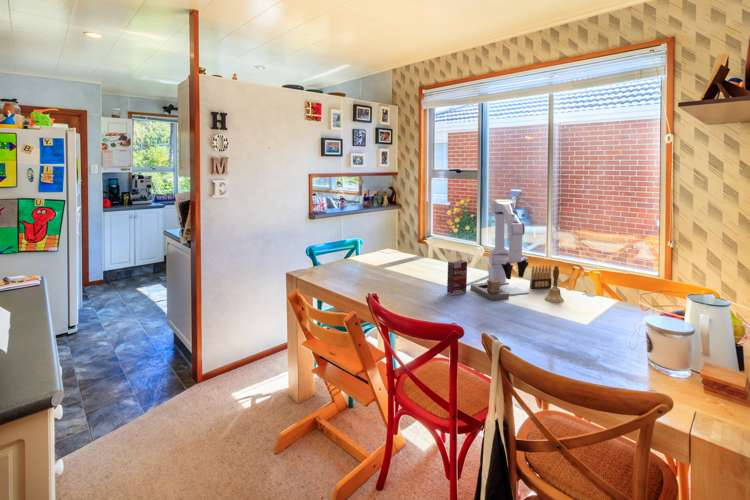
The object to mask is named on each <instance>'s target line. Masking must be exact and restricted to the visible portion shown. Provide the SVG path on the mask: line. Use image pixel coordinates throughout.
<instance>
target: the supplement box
mask: <svg viewBox="0 0 750 500" xmlns="http://www.w3.org/2000/svg"><path fill="white" fill-rule="evenodd" d="M467 275H468V261H466V260H463V259H461V260H454V261H447V282H446V283H447V285H446V288H447V289H446V292H447V294H448V295H451V296H455V295H461V294H466V293H467V281H468V280H467V279H468V278H467V277H468V276H467Z"/></svg>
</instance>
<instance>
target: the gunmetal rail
mask: <svg viewBox="0 0 750 500" xmlns="http://www.w3.org/2000/svg"><path fill="white" fill-rule="evenodd" d="M487 288H488V282H482V283H472V284H470V290H471V291H473V292H474V293H477V294H479V295H481V296H482V297H484V298H486V299H487V300H490V301H492V302H493V301H501V300H509V298H510V297H509V296H510V295H509V293H507V292H505V291H503V290H501V289H502V288H499V292H496V293H490V292H488V291H487Z"/></svg>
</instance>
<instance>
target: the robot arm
mask: <svg viewBox="0 0 750 500" xmlns="http://www.w3.org/2000/svg"><path fill="white" fill-rule="evenodd" d="M490 205H491V208H490V209H491V216H492V217H494V247H493V248H492V249H490V251H489V255H488V263H489V267H488V272H487V273H488V274H487V275H488V276H487V277H488V278H487V279H486V281H487V282H488V280H497V281H499V282H500V285H507V284H510V282H509V281H506V280H511V278H512V272H513V271H512V270H513V267H514V265H513V264H515V263H516V265H517V272H518V273H517V274H518V278H523V277H524V275H525V271H526V269H527V267H528V266H529V257H528V256H522V255H523V236H524V234H525V231H526V229H525V224H524V222H521V221H520V219H519V218H518V216H517V214H516V213H514V212H513V211H514V201H513V199H493V200H492V201H491V204H490ZM505 225H506V226H507V234H508V235H507V238H508V249H506V248H505V230H506V229H505V228H506V227H505Z"/></svg>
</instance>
